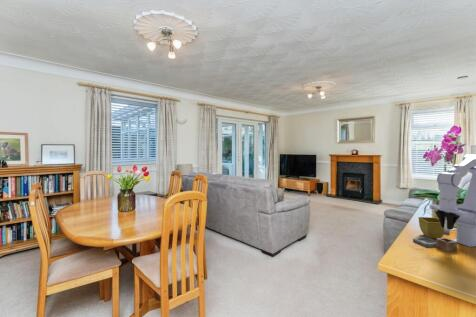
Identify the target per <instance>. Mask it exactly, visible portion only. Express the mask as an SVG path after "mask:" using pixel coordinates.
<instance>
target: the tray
mask: <svg viewBox="0 0 476 317" xmlns="http://www.w3.org/2000/svg"><path fill="white" fill-rule="evenodd" d="M412 241H413V242H414V243H417V244H419V245H422V246H424V247H426V248H435V247H436V239H434V238H429V237H427V236H424V237H423V236H422V237H415V238H413V239H412Z"/></svg>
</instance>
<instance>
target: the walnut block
mask: <svg viewBox="0 0 476 317" xmlns="http://www.w3.org/2000/svg"><path fill="white" fill-rule="evenodd" d="M435 240H436V246H435V247H436V248H438V249H440V250H442V251H445V252H454V251H455V252H456V251H458V243H457V242H456V241H453V240H451V239H450V238H448V237H441V238H435Z"/></svg>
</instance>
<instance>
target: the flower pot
mask: <svg viewBox="0 0 476 317" xmlns="http://www.w3.org/2000/svg"><path fill="white" fill-rule="evenodd" d="M418 224H419V226H418V227H419V228H420V229H419V230H420V231H421V232H422V234H423V235H424V236H425V237H428V238H430V239H436V238H443V237H444V228H443V227H441V223H440V220H439V218H438V217H429V216H428V217H427V216H420V217H418Z"/></svg>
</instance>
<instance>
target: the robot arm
mask: <svg viewBox="0 0 476 317" xmlns="http://www.w3.org/2000/svg"><path fill="white" fill-rule="evenodd" d="M468 173H470V174H471V178H470V181H469V184H468V188H467V191H466V194H465V197H464V200H463V203H461V204H458V205H457V199H458V198H457V196H458V195H457V193H458V192H457V191H458V186H459V185H460V184H461V181H462V179H463V178H464V177H465V176H466V175H468ZM436 183H437V186H438V189H439V200H438V202H439V203H438V205H437V204H429V209H430V210H436V211H435V215H436V216H437V218H438V219H439V220H440V223H441V227H443V228H444V217H446V219H447V229H449V230H450V231H451V230H453V229H454V226H455V224H456V234H455V235H456V237H455V238H452V239H450V240H453V241H456V242H457V244H461V245H463V246H465V247H469V248H472V247H476V154H469V153H466V154H464V155H463V156H462V162H460V163H459V164H454V165H452V166H451V167H450V168H449V169H447V170H446V171H442V172H439V173H438V175H437V178H436Z"/></svg>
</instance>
